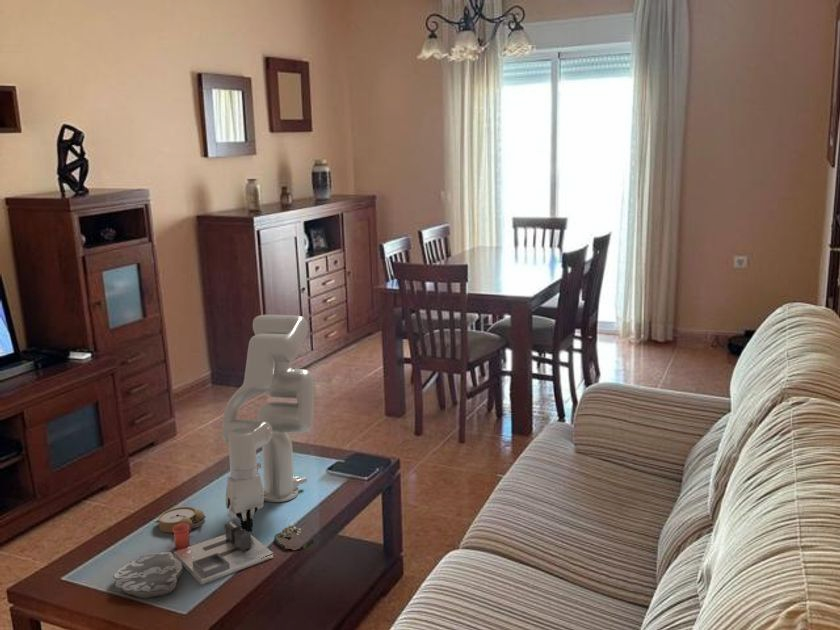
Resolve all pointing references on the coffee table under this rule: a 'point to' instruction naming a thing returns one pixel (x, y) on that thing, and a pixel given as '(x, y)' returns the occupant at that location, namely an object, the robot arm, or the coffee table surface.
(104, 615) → the coffee table surface
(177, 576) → the brain slice
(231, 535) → the block
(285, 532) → the grey rough lump
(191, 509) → the alarm clock
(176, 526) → the cap
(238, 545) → the breaker
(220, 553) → the panel
